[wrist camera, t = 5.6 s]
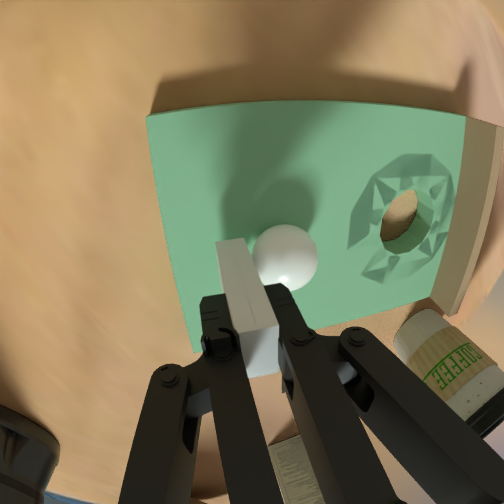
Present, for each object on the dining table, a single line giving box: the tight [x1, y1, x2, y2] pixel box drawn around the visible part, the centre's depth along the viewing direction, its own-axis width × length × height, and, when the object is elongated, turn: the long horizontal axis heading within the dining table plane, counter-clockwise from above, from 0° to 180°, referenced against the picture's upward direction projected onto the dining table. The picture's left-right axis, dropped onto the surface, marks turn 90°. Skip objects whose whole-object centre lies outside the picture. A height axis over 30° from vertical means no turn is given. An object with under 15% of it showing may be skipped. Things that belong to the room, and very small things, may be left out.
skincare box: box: [268, 435, 325, 504], centre depth 33 cm, size 6×4×12 cm
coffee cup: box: [393, 309, 504, 439], centre depth 24 cm, size 10×10×15 cm
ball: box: [251, 224, 318, 291], centre depth 17 cm, size 4×4×4 cm
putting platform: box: [146, 100, 504, 353], centre depth 18 cm, size 22×16×5 cm
